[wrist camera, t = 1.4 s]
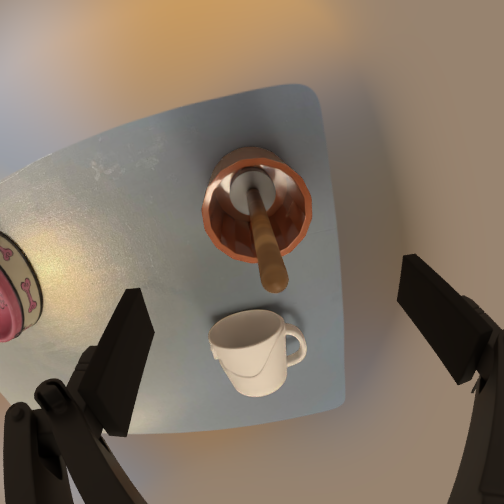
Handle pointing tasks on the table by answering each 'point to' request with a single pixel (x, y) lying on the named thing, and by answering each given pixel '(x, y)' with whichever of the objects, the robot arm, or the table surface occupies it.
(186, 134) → the table surface
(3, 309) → the dog bowl
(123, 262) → the table surface
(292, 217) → the crock
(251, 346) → the mug
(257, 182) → the toilet plunger
